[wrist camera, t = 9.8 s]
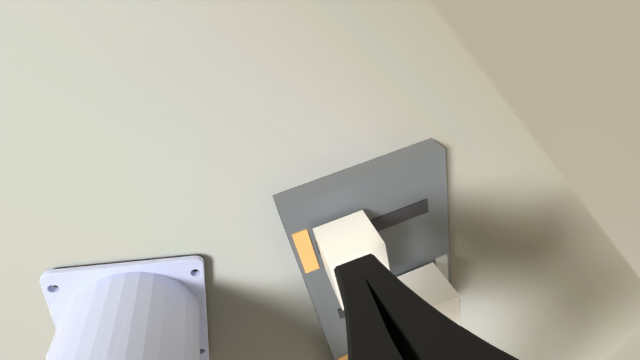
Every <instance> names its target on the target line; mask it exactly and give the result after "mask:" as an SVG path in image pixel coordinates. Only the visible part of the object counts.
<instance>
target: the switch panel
mask: <svg viewBox="0 0 640 360" xmlns="http://www.w3.org/2000/svg"><path fill="white" fill-rule="evenodd" d="M273 198H274V201H275V204H276V207H277V210H278V213H279V215H280V218H281V221H282V223H283V226H284V229H285V231H286V234H287V237H288V239H289V242H290V245H291V247H292V250H293V252H294V255H295V258H296V260H297V263H298V266H299V268H300V271H301V274H302V276H303V279H304V282H305V284H306V287H307V290H308V292H309V295H310V297H311V300H312V303H313V305H314V308H315V311H316V313H317V316H318V319H319V321H320V324H321V327H322V329H323V332H324V334H325V337H326V340H327V342H328V345H329V348H330V350H331V353H332V356H333V358H334V360H348V348H347V332H346V321H345V313H344V310H342V308H341V306H340V303H339V301H338V298H337V296H336V294H335V291H334V289H333V287H332V284H331V282H330V279H329V277H328V275H327V272H326V269H325V266H324V263H323V260H322V257H321V254H320V251H319V248H318V244H317V241H316V238H315V235H314V232H313V228H315V227H318V226H321V225H323V224H326V223H329V222H331V221H334V220H337V219H339V218H342V217H344V216H347V215H350V214H352V213H355V212H358V211H360V210H363V211H364V213H365V214H366V216H367V217H368V219H369V220H370V222H371V223H372V225H373V226H374V228H375V229H376V231H377V232H378V234H379V235H380V237H381V238H382V240H383V241H384V243H385V246H386V251H387V257H388V263H389V268H390V271H391V272H392V273H393V274H394V275H395V276H396V277H398V276H400V275H403V274H405V273H408V272H410V271H413V270H415V269H418V268H420V267H423V266H425V265H427V264H430V263H432V262H433V263H434V264H435V265H436V266H437V268H438V269H439V270H440V271H441V273H442V274H443V275H444V276H445V278H446V279H447V280H448V282H449V283H450V284H451V272H450V247H449V222H448V197H447V172H446V149H445V148H444V147H443V146H441V145H440V144H439V143H437V142H436V141H434V140H433V139H432V138H431V139H428V140H425V141H422V142H420V143H417V144H414V145H411V146H409V147H406V148H403V149H400V150H397V151H395V152H392V153H389V154H386V155H384V156H381V157H378V158H375V159H373V160H370V161H367V162H364V163H362V164H359V165H356V166H353V167H350V168H348V169H345V170H342V171H339V172H337V173H334V174H331V175H328V176H326V177H323V178H320V179H317V180H314V181H312V182H309V183H306V184H303V185H301V186H298V187H295V188H292V189H290V190H287V191H284V192H281V193H278V194H276V195H273Z"/></svg>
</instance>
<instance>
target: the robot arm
mask: <svg viewBox="0 0 640 360" xmlns="http://www.w3.org/2000/svg"><path fill="white" fill-rule="evenodd" d="M195 269H197V270H198V271H196V272H194V271H192V270H195ZM334 273H335V277H336V281H337V284H338V288H339V292H340V295H341V299H342V303H343V306H344V313H345V321H346V332H347V348H348V360H519V359H517V358H515V357H513V356H511V355H509V354H507V353H506V352H504V351H502V350H500V349H498V348H496V347H494V346H493V345H491V344H489V343H487V342H486V341H484V340H482V339H481V338H479V337H477V336H476V335H474V334H472V333H471V332H469V331H468V330H466V329H465V328H463V327H461V326H460V325H458V324H457V323H455V322H454V321H452V320H451V319H450V318H448V317H447V316H445V315H444V314H442V313H441V312H440V311H438V310H437V309H436V308H434V307H433V306H431V305H430V304H429V303H428V302H426V301H425V300H424V299H422V298H421V297H420V296H419V295H417V294H416V293H415V292H414V291H412V290H411V289H410V288H409V287H408V286H406V285H405V284H404V283H403V282H402V281H401V280H399V279H398V278H397V277H396V276H395V275H394V274H393V273H392V272H391V271H389V270H388V269H387V268H386V267H385V266H384V265H383V264H382V263H381V262H380V261H379V260H378V259H377V258H376V257H375V255H373V254H371V253H370V254H368V255H365V256H362V257H360V258H357V259H354V260H352V261H349V262H346V263H344V264H341V265H338V266H336V267H335V269H334ZM40 284H41V287H42V290H43V293H44V296H45V299H46V302H47V304H48V307H49V310H50V313H51V316H52V319H53V322H54V325H55V328H56V333H55V335H54V338H53V340H52V343H51V346H50V348H49V351H48V353H47V356H46V359H45V360H209V345H208V326H207V308H206V290H205V271H204V260H203V258H202V257H200V256H184V257H174V258H164V259H154V260H143V261H133V262H123V263H113V264H103V265H93V266H82V267H72V268H62V269H52V270H47V271H45V272H44V273H43V274H42V276H41V278H40ZM51 285H56V286H58V287H53V286H51Z"/></svg>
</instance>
